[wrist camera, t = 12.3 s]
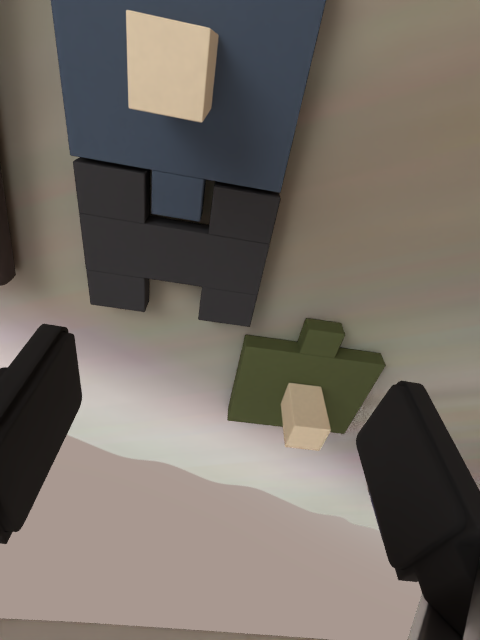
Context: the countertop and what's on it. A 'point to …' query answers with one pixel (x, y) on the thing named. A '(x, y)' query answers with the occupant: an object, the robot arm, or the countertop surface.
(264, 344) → the olive tile
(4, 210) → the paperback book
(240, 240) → the base tile
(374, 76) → the countertop surface
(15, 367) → the robot arm
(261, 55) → the slate tile
